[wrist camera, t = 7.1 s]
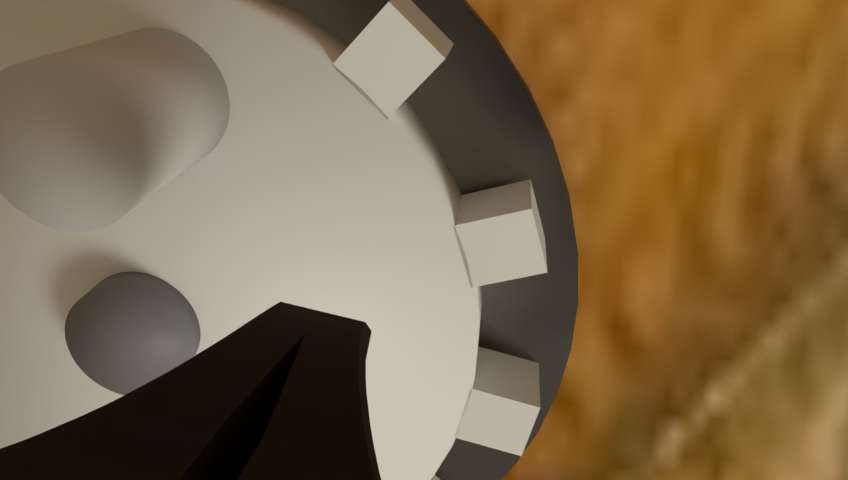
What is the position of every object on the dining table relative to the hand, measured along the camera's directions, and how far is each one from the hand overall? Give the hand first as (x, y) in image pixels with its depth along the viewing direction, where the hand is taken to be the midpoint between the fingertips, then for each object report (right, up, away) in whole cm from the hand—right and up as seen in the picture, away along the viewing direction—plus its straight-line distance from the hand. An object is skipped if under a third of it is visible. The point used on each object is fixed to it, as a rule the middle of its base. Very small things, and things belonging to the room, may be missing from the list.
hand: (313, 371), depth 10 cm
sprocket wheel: (-5, +1, +11) cm, 12 cm away
